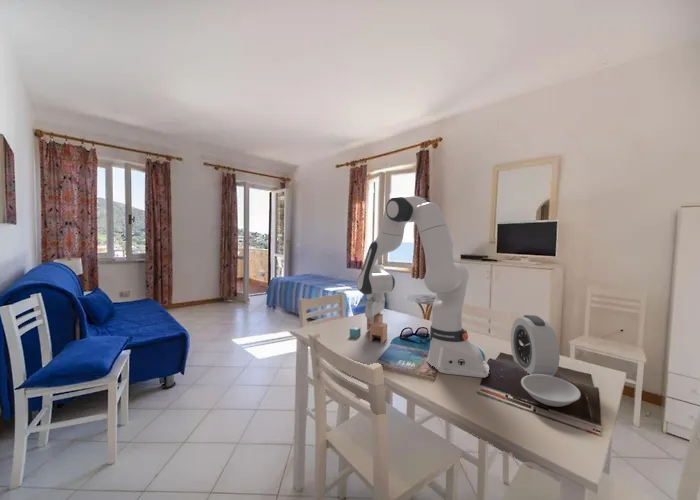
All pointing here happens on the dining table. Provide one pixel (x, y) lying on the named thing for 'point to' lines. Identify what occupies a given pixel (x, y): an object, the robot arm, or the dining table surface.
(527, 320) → the alarm clock
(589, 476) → the dining table surface
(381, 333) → the brown box with opening
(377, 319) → the tan box with door
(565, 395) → the dish
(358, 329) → the letter cube
